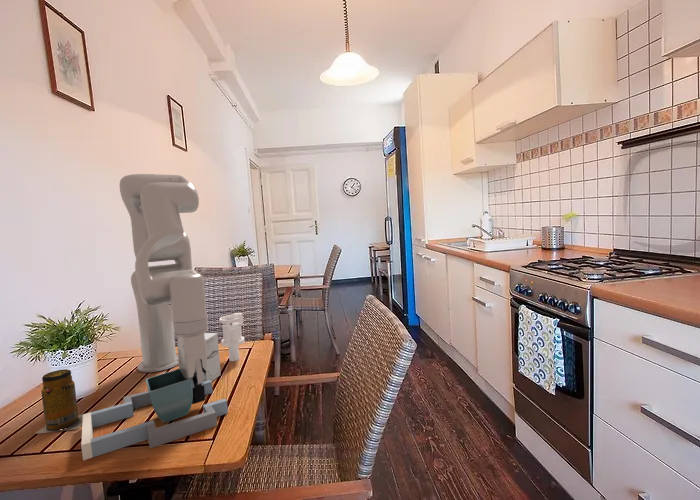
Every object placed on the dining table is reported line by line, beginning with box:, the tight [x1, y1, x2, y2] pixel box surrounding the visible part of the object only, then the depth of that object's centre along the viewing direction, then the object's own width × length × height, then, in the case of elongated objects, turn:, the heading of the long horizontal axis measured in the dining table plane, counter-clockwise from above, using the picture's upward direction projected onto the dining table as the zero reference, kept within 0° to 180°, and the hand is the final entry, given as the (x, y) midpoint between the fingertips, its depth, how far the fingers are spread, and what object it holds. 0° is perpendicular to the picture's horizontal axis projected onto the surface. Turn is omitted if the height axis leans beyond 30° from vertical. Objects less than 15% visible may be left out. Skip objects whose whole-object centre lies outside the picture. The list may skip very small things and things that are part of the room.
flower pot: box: [144, 368, 193, 423], centre depth 88 cm, size 9×9×9 cm
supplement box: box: [203, 332, 221, 382], centre depth 108 cm, size 7×7×13 cm
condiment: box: [35, 368, 83, 435], centre depth 87 cm, size 7×8×12 cm
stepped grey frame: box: [80, 380, 229, 461], centre depth 87 cm, size 23×28×3 cm
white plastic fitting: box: [219, 312, 245, 362], centre depth 122 cm, size 7×7×15 cm
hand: (197, 401), depth 91 cm, fingers closed
